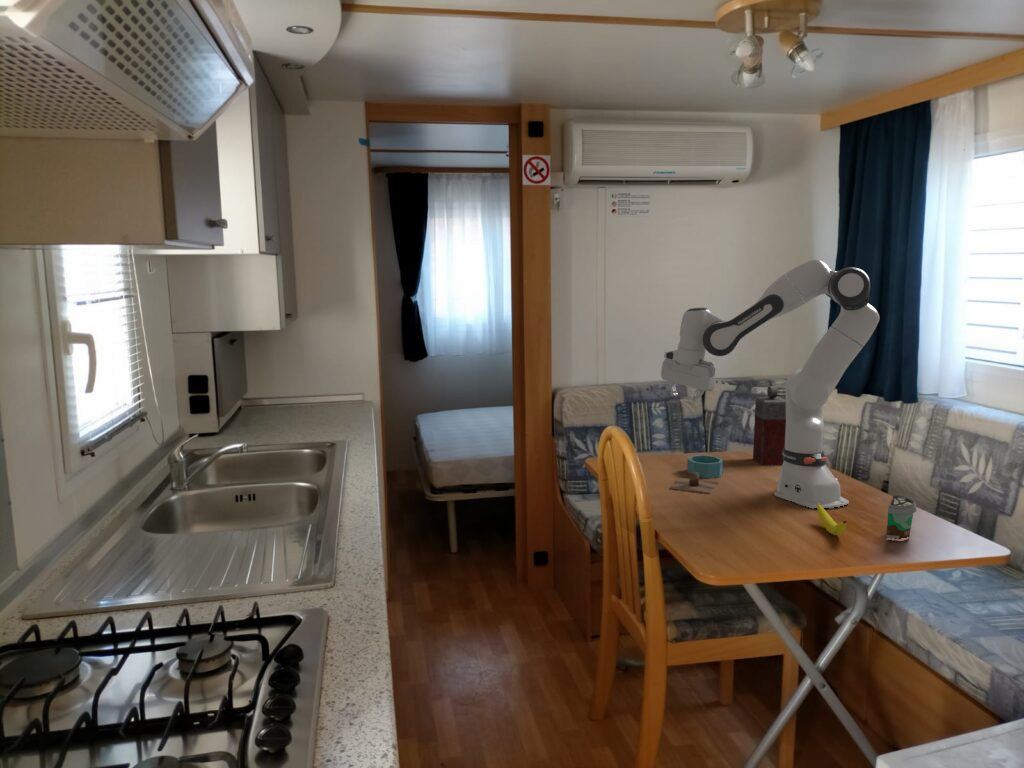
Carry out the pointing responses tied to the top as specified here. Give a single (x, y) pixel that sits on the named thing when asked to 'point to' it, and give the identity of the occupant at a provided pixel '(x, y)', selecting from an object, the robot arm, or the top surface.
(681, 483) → the lid
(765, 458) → the dark red canister
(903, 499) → the food container
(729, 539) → the top surface
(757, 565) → the top surface
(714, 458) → the bowl
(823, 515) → the banana
